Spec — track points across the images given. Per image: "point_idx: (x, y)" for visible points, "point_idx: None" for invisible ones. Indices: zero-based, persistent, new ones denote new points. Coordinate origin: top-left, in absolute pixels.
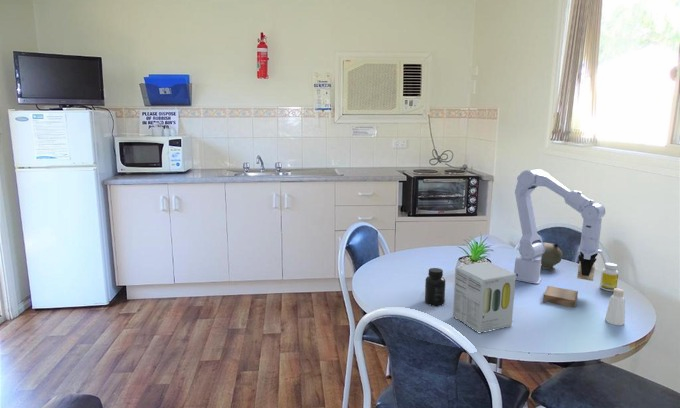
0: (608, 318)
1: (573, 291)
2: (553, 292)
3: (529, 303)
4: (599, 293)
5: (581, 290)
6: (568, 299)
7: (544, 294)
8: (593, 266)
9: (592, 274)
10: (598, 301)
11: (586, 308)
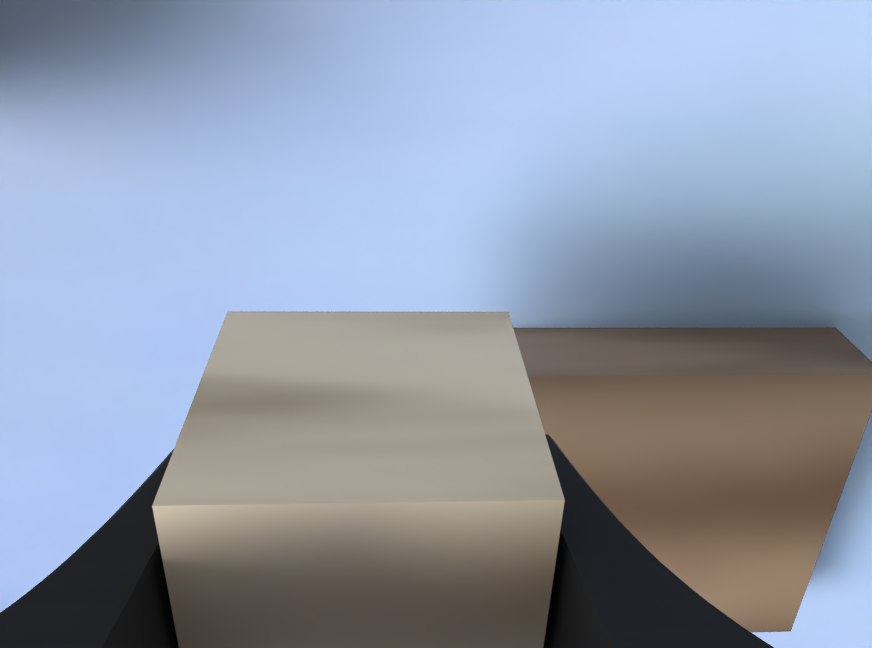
0: None
1: (555, 418)
2: (691, 575)
3: (850, 639)
4: (145, 85)
5: (190, 305)
6: (860, 437)
7: (787, 626)
8: (473, 525)
9: (526, 402)
10: (499, 89)
11: (817, 214)
